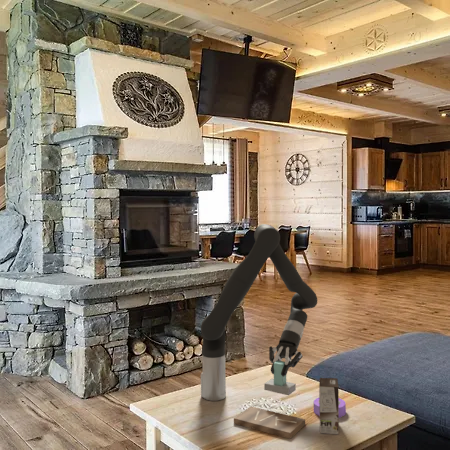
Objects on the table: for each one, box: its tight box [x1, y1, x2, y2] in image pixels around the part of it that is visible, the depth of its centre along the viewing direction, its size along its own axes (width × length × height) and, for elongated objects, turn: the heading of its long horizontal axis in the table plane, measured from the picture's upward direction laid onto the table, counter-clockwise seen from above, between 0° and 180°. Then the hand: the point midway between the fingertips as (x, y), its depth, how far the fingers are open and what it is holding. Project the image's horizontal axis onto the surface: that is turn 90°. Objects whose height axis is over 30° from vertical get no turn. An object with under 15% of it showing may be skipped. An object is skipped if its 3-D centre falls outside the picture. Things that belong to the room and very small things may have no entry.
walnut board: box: [233, 406, 306, 440], centre depth 176 cm, size 22×12×2 cm, turn 57°
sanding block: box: [263, 360, 297, 396], centre depth 187 cm, size 10×6×10 cm, turn 57°
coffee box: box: [318, 377, 340, 435], centre depth 171 cm, size 9×6×16 cm
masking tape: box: [313, 397, 347, 419], centre depth 185 cm, size 12×12×4 cm
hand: (277, 374), depth 185 cm, fingers closed on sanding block, 3 cm apart
